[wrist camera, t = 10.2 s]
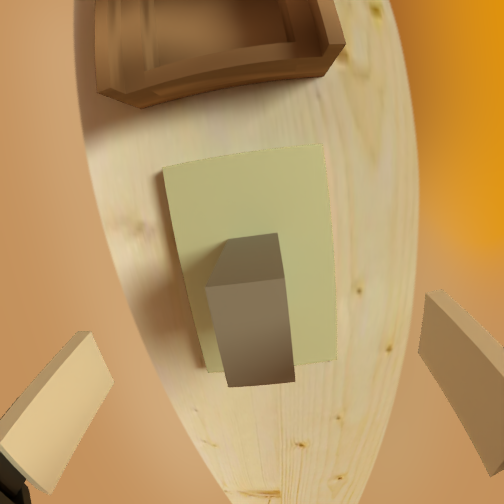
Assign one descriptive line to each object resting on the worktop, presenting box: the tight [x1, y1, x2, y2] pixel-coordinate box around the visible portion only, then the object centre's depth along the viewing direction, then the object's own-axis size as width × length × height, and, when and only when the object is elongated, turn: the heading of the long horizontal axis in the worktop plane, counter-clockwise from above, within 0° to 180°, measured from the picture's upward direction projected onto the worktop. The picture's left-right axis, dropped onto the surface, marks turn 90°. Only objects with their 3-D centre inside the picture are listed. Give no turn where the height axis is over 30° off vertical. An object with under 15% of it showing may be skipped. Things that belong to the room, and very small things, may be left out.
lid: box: [162, 144, 337, 387], centre depth 16 cm, size 15×10×9 cm, turn 8°
